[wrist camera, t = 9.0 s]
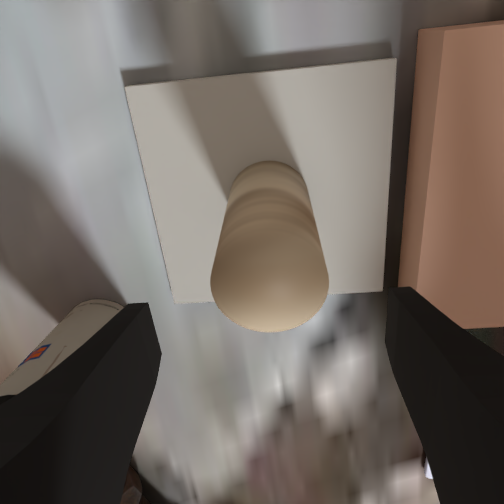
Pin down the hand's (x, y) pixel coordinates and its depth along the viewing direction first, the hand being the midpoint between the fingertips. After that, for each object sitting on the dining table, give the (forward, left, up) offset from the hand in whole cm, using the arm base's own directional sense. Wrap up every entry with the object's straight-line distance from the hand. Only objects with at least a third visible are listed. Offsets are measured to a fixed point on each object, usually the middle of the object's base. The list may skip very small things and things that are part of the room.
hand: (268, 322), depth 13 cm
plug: (0, 0, -10) cm, 10 cm away
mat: (0, 0, -10) cm, 10 cm away
